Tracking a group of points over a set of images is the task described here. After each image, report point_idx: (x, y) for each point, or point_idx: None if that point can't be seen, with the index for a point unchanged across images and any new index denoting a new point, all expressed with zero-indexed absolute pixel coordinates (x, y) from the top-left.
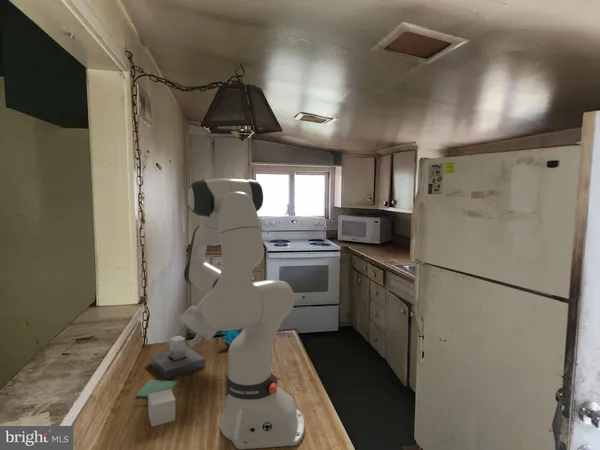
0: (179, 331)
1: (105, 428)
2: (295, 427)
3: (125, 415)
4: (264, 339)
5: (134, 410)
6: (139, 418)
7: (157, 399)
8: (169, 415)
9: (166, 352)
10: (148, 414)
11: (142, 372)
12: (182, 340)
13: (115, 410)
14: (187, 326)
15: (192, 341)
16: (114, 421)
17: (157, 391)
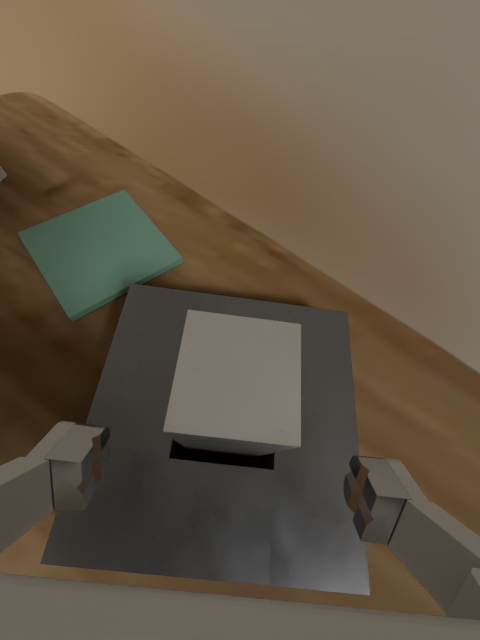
0: (412, 503)
1: (63, 110)
2: None
3: (66, 147)
4: None
5: (64, 165)
6: (15, 157)
7: None
8: None
9: (339, 399)
10: (3, 173)
11: (275, 278)
12: (171, 396)
13: (113, 144)
14: (332, 607)
15: (29, 457)
16: (69, 127)
17: (77, 234)
